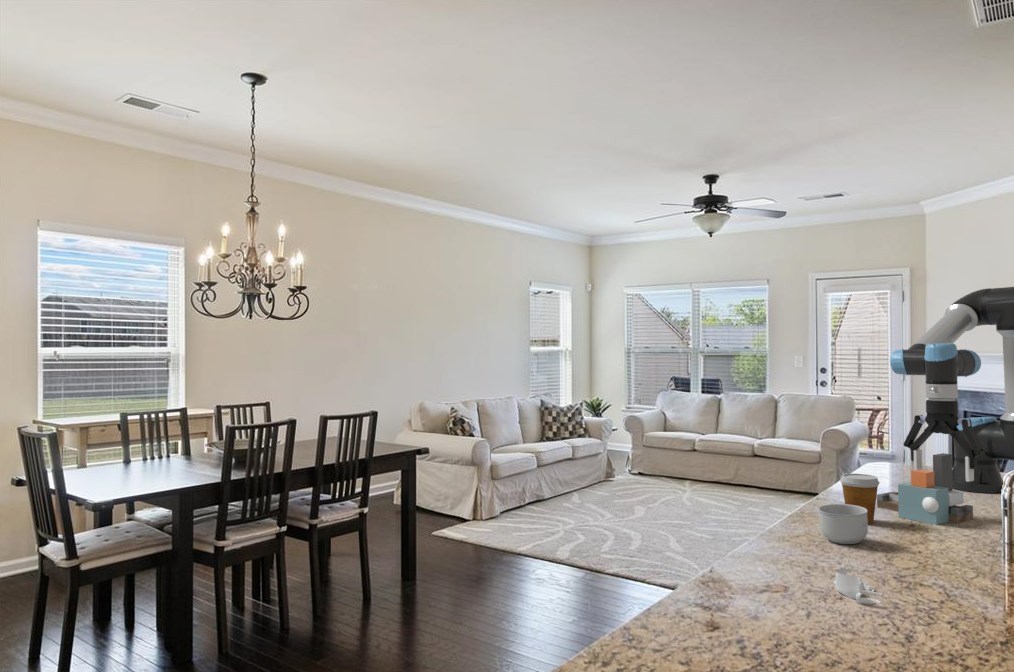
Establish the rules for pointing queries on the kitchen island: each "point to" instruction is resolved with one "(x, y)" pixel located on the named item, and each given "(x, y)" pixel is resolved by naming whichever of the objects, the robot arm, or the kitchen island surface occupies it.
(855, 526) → the light gray bowl
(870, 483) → the disposable coffee cup
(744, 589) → the kitchen island surface
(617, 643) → the kitchen island surface
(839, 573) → the white figurine
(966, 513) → the rail board
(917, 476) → the button
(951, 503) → the carriage
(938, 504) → the cabinet
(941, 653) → the kitchen island surface
